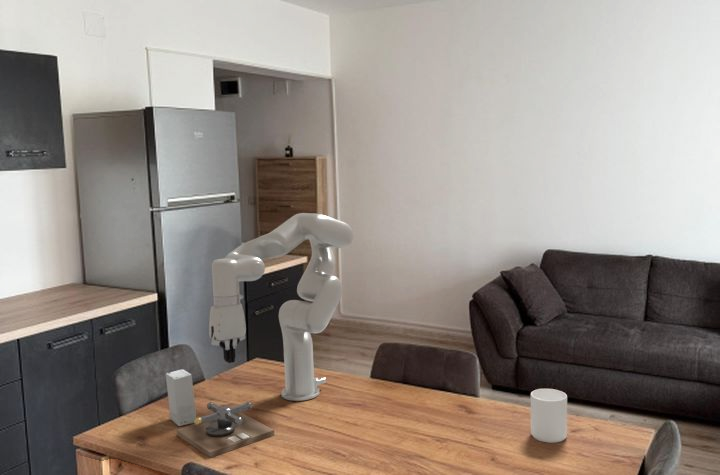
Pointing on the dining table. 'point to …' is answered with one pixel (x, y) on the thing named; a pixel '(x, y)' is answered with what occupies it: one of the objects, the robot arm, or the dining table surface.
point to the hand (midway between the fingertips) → (229, 361)
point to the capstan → (222, 419)
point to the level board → (219, 445)
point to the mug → (549, 415)
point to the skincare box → (181, 397)
